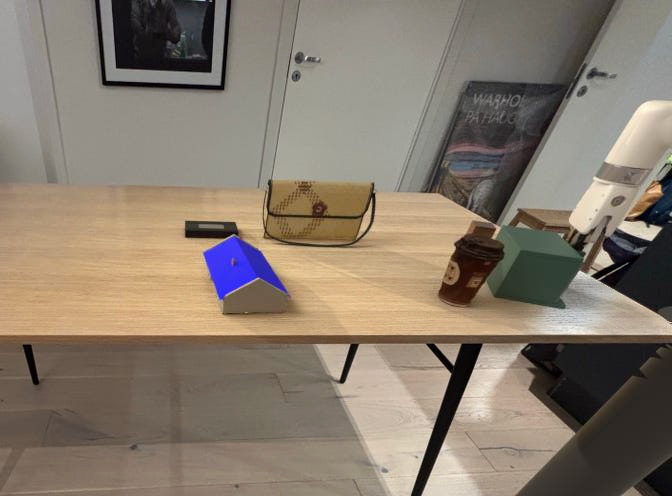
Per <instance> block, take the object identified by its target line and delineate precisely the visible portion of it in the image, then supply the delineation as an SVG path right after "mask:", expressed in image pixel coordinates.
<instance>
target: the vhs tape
mask: <svg viewBox="0 0 672 496" xmlns="http://www.w3.org/2000/svg"><path fill="white" fill-rule="evenodd" d="M233 234H235V235H236V236H238V237H239V228H238V225H237V222H236V221H220V220H219V221H216V220H184V237H185V238H201V237H205V238H206V239H226V238H228V237H230V236H232V235H233Z"/></svg>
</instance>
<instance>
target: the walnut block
mask: <svg viewBox="0 0 672 496" xmlns="http://www.w3.org/2000/svg"><path fill="white" fill-rule="evenodd" d="M496 231H497V227H496V226H495V224H494V223H493V222H489V221H482V220H481V221H480V220H473V219H472V220H471V223H470V224H469V226H468V229H467V230H466V232H465V235H466V234H479V235H484V236H487V237H490V238H492V239H493V237H494V235H495V233H496Z"/></svg>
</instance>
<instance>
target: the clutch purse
mask: <svg viewBox="0 0 672 496" xmlns="http://www.w3.org/2000/svg"><path fill="white" fill-rule="evenodd" d="M262 188H263V191H264V192H265V194H264V197H263V204H262V205H263V206H262V227H263V228H262V238H270V239H272V240H275V241H277V242H280V243H284V244H287V245H297V246H307V247H308V246H309V247H319V248H336V247H337V248H338V247H339V248H340V247H347V246H349V247H350V246H352V245H355V244H356V243H358V242H360V241H361V240H362V239H363V238H365V236H366V235H367V234H368V233H369V232H370V230H371V228H372V226H373V224H374V221H375V216H376V207H377V206H376V205H377V203H376V201H377V199H376V197H377V196H376V194H377V193H378V190H377V189H375V182H373V181H371V182H369V181H367V182H366V181H339V180H338V181H336V180H335V181H334V180H300V179H270V178H269V179H268V180H267V185H263V187H262ZM265 188H266V189H265ZM374 191H375V192H374ZM266 198H267V199H266ZM265 204H266V205H265ZM370 206H371V213H370V215H371V216H370V219H369V220H370V221H369V223H368V226H367V227H366V229H365V231H364V232H363V233H361V234H360V236H359V233H360V230H361V226H362V223H363V221H364V217H365V215H366V213H367V212H368V211H369V208H370ZM358 236H359V237H358ZM280 238H289V239H290V238H294V239H295V238H296V239H331V240H332V239H334V240H353V241H351V242H347V243H336V244H318V243H317V244H316V243H309V242H296V241H288V240H283V239H280Z"/></svg>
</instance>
